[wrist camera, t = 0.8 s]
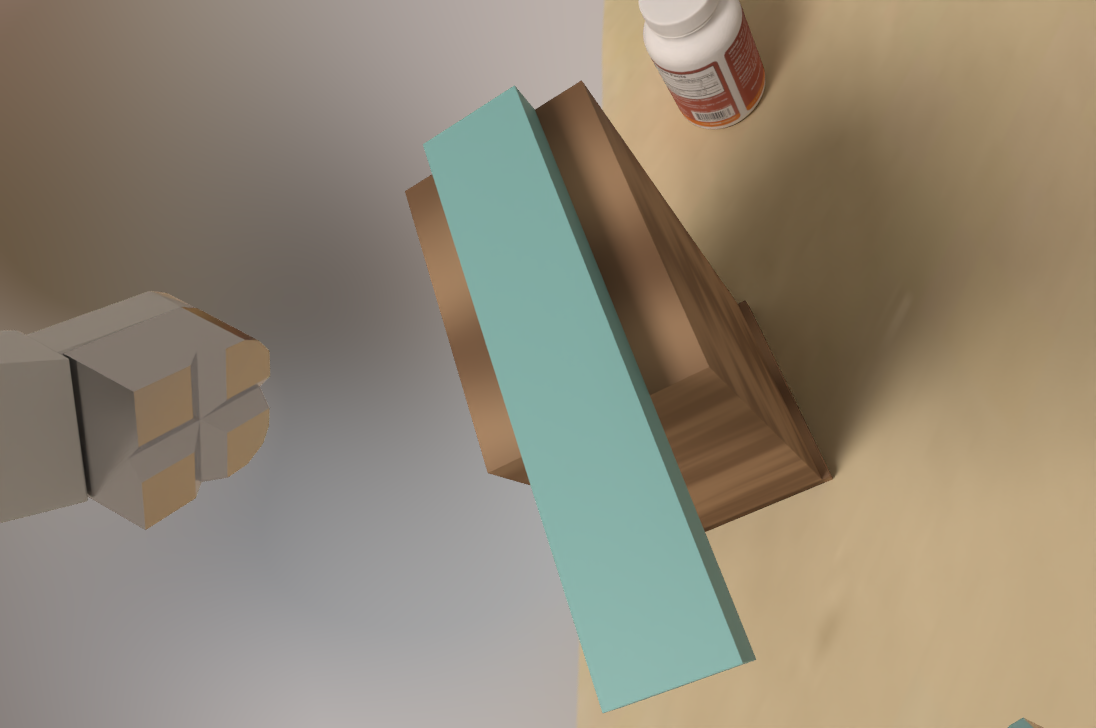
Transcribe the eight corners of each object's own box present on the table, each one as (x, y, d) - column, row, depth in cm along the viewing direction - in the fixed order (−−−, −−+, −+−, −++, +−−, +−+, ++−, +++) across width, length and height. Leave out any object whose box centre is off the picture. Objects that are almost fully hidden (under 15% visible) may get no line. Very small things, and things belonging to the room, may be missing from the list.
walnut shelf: (832, 478, 46) (724, 359, 24) (692, 537, 49) (475, 478, 26) (749, 306, 51) (593, 72, 29) (625, 367, 54) (394, 197, 31)
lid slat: (756, 659, 21) (743, 663, 20) (624, 706, 22) (602, 713, 21) (534, 109, 29) (514, 85, 28) (446, 165, 31) (423, 144, 29)
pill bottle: (733, 37, 57) (690, -77, 47) (785, 89, 54) (750, -22, 44) (663, 96, 58) (607, -4, 49) (711, 149, 55) (661, 54, 46)
